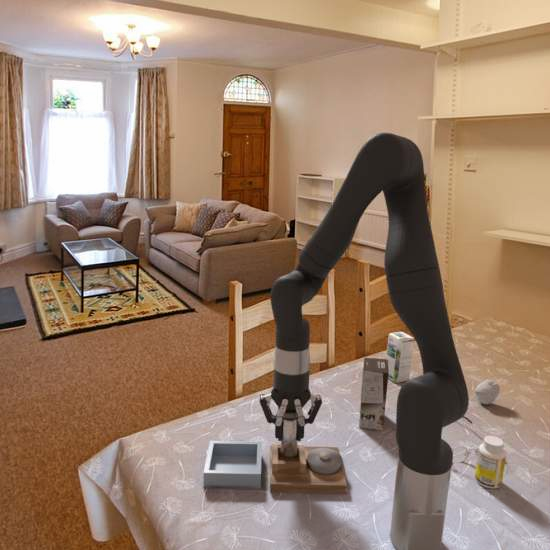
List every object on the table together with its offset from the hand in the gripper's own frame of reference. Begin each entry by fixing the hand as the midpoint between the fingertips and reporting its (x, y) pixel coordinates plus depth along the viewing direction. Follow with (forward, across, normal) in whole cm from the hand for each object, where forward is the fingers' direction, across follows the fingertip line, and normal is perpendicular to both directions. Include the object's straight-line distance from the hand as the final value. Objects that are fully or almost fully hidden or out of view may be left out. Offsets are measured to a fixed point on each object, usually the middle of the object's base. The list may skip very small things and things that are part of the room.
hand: (289, 438), depth 113 cm
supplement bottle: (+9, +44, -2) cm, 45 cm away
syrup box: (+8, +36, +49) cm, 62 cm away
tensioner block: (+9, +4, 0) cm, 9 cm away
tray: (+8, -12, +1) cm, 15 cm away
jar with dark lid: (+3, 0, 0) cm, 3 cm away
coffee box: (+9, +23, +23) cm, 34 cm away
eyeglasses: (+9, +41, +14) cm, 44 cm away
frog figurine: (+9, +58, +34) cm, 68 cm away
